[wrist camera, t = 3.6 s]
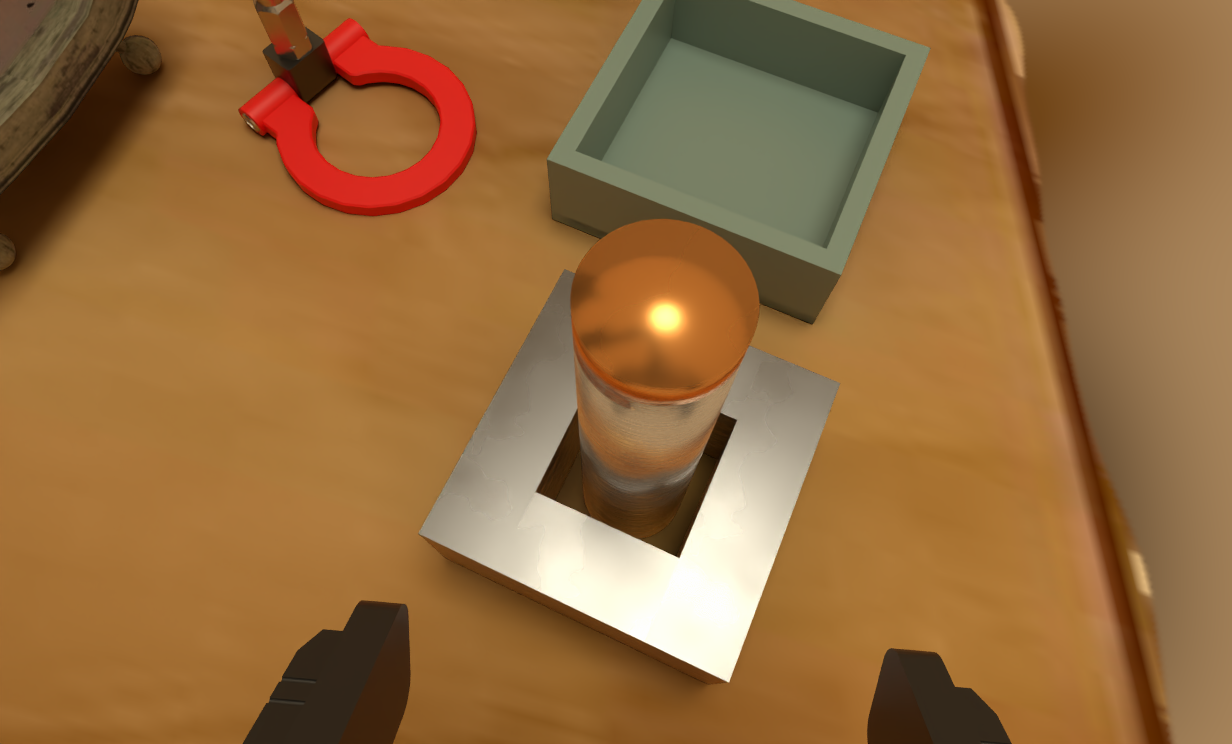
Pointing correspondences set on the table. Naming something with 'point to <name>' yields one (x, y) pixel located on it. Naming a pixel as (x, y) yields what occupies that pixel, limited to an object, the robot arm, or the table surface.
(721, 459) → the block
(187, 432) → the table surface
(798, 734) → the table surface
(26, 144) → the tabletop clock
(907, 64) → the tray
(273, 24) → the tow hook
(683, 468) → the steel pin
